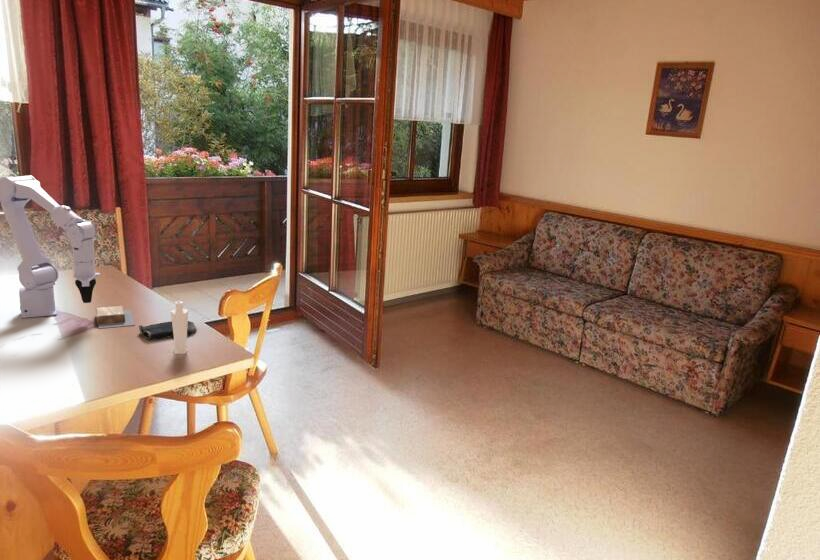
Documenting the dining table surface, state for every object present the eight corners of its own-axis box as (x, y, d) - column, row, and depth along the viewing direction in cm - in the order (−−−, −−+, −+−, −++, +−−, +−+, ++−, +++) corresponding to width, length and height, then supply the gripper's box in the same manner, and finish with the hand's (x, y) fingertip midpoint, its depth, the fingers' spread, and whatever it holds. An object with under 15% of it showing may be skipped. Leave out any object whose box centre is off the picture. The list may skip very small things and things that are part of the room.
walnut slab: (96, 316, 179) (124, 314, 182) (95, 307, 186) (123, 305, 190) (96, 324, 179) (125, 322, 183) (96, 315, 187) (123, 313, 191)
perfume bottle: (179, 356, 162) (177, 305, 158) (169, 352, 164) (167, 302, 160) (192, 351, 166) (191, 302, 162) (183, 347, 168) (181, 298, 164)
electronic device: (151, 348, 170) (201, 332, 179) (146, 330, 168) (197, 315, 178) (141, 342, 177) (190, 326, 186) (136, 324, 175) (186, 310, 185)
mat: (99, 328, 177) (99, 328, 177) (97, 312, 190) (97, 311, 190) (134, 325, 181) (134, 324, 181) (131, 309, 195) (131, 309, 195)
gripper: (99, 265, 173) (102, 308, 176) (98, 254, 185) (100, 294, 188) (72, 266, 169) (75, 310, 173) (72, 255, 181) (75, 296, 185)
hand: (87, 302), depth 180 cm, fingers closed
